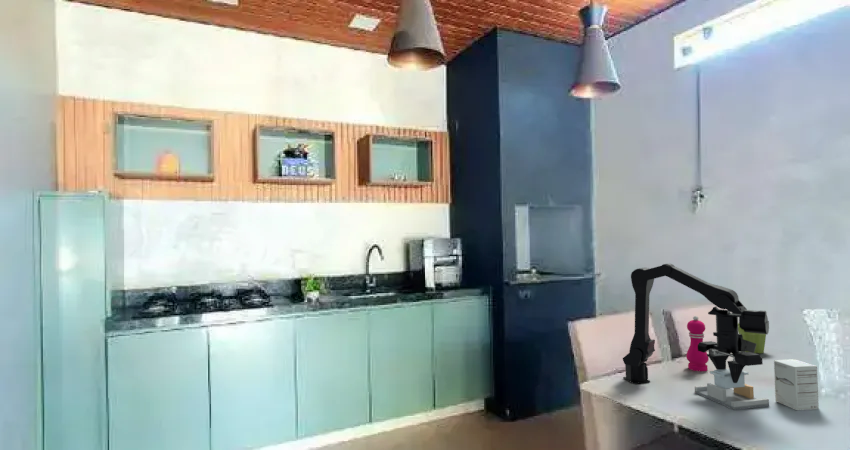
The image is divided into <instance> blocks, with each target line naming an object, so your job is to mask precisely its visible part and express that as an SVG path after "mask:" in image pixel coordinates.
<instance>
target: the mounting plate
mask: <svg viewBox="0 0 850 450" xmlns="http://www.w3.org/2000/svg"><path fill="white" fill-rule="evenodd" d="M694 393H695V394H697V395H698V396H701V397H704V398H706V399H709V400H711V401H713V402H715V403H717V404H719V403H720V405H722V406H724V407H727V408H728V409H731V410H733V411H737V410H744V409H756V408H763V407H764V408H767V407H770V399H769V398H767V397H764V398H756V397H754V386H752V385H750V384H747V383H745V387H737V388H728V389H725V388H722V387H719V386H717V385H715V384H714V383H711V382H710V383H706V385H697V386H694Z"/></svg>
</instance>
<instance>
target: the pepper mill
mask: <svg viewBox="0 0 850 450" xmlns="http://www.w3.org/2000/svg"><path fill="white" fill-rule="evenodd" d="M686 329H687V330H688V331H689V332H688V336H689V337H688V338H689V339H690V345H689V346H688V349H687V351H686V355H685V356H686V360H687V361H688V363H687V366H688V369H689V370H691V371H692V372H693V371H694V372H707V371H708V365H707V363H709V359H710V358H709V357H708V356H707V354H708V352H707V351H706V352H705V353H704V352H700V351H698V344H699V343H700V342H704V338H705V334H704V332H705V331H706V324H705V323H704V322H703V321H702V320H699V317H698V316H697V315H693V317H692V320H689V321H688V322H687V324H686Z"/></svg>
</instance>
